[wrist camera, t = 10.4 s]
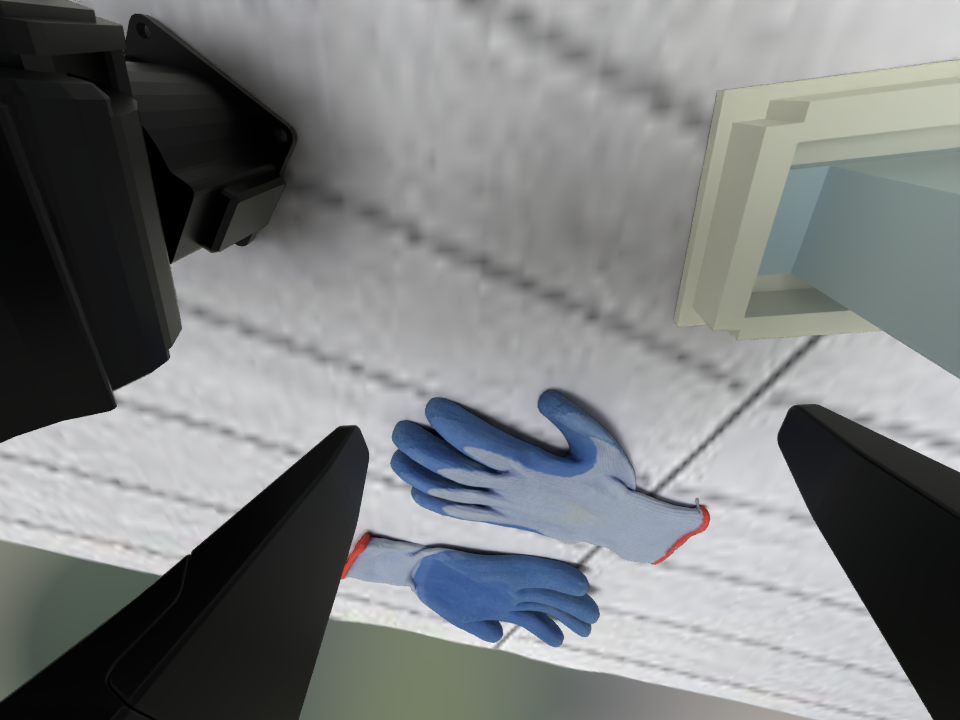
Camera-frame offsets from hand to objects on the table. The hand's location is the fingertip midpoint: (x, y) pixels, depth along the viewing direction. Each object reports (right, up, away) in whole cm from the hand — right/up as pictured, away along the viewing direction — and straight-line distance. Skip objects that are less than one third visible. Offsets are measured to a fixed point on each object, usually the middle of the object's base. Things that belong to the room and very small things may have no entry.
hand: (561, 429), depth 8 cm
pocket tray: (+15, +8, +9) cm, 19 cm away
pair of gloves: (+1, -13, +26) cm, 29 cm away
